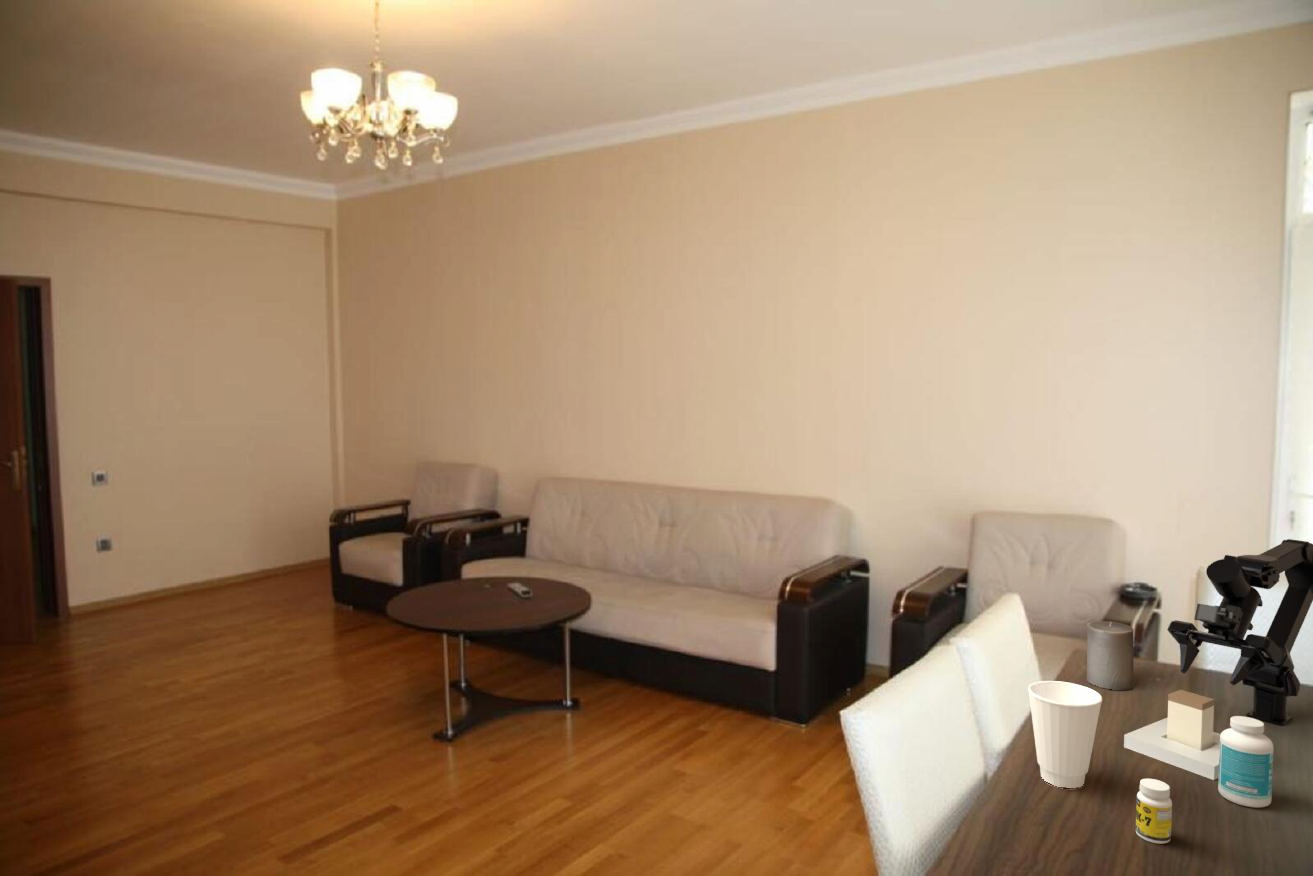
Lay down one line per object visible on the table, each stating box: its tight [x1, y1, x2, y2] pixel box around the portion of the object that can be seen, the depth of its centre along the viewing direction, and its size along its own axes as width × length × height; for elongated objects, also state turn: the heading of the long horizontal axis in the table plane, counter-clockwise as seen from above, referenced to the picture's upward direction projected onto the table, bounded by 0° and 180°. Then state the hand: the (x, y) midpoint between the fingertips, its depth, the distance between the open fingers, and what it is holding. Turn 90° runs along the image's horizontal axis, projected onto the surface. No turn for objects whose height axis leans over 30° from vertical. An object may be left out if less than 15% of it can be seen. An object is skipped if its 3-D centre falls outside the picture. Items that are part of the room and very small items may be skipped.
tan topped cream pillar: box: [1167, 689, 1215, 751], centre depth 159 cm, size 4×6×11 cm
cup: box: [1027, 680, 1103, 788], centre depth 148 cm, size 12×12×16 cm
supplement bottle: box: [1135, 778, 1173, 845], centre depth 130 cm, size 5×5×8 cm
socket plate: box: [1123, 716, 1221, 781], centre depth 159 cm, size 16×16×2 cm
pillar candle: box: [1086, 620, 1135, 691], centre depth 196 cm, size 10×10×15 cm
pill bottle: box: [1217, 715, 1275, 808], centre depth 141 cm, size 8×7×14 cm
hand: (1206, 678), depth 162 cm, fingers open, 9 cm apart
